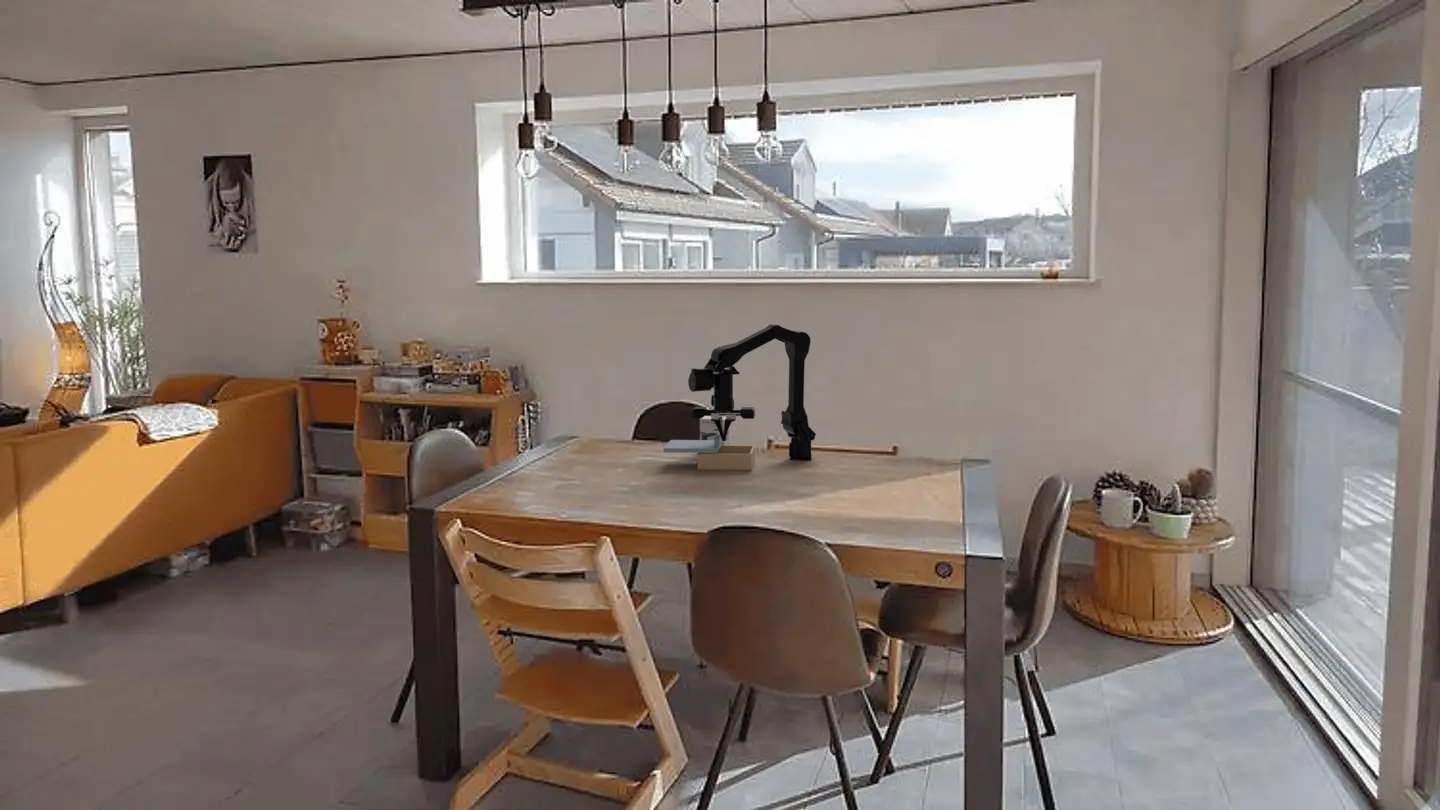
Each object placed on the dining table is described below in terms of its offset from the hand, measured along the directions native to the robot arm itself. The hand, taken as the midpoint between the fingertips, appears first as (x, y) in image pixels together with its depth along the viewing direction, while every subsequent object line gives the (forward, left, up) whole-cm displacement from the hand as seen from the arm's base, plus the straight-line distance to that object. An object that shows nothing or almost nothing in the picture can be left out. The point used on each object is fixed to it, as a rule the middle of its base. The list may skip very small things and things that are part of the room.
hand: (723, 441), depth 315 cm
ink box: (+5, -19, -8) cm, 21 cm away
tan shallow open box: (-1, 0, -8) cm, 8 cm away
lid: (+9, 0, -2) cm, 10 cm away
